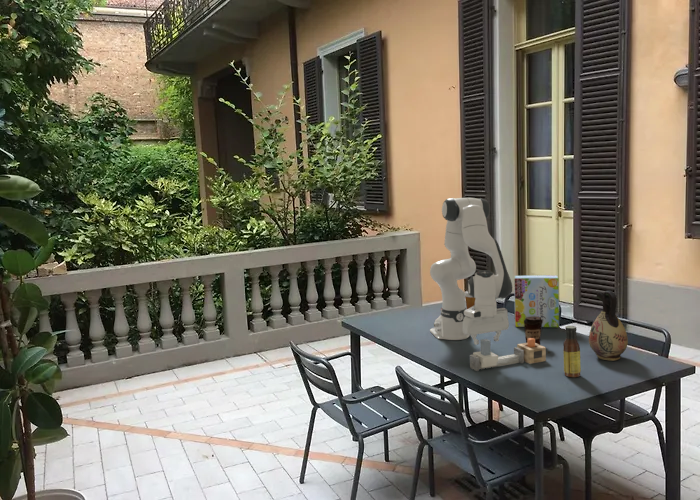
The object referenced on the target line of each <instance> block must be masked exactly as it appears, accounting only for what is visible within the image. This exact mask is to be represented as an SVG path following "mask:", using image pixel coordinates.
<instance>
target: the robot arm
mask: <svg viewBox="0 0 700 500" xmlns="http://www.w3.org/2000/svg"><path fill="white" fill-rule="evenodd" d="M490 212H491V205H490V203H489V201H488V200H487V199H485V198H481V197H480V198H475V197H457V198H455V197H451V198H446V199H445V200H444V201H443V203H442V207H441V214H442V217H443V218H444V220H446V225H445V235H444V244H443V245H444V247H445V248H446V250H448V251H449V253H450V257H449V258H445V259H441V260H438V261H436V262H433V263H432V264H431V266H430V269H429V274H430V275H429V276H430V277H431V279H432V280H433V281H434V282H435V283H436V284H437V285H438V287H439V288H440V291H441V299H442V302H441V304H442V307H441V308H440V315H439V316H438V317H437V318H435V320H434V323H433V327H432V328H430V329H429V332H430V333H431V334H432V335H433V336H434V337H435V338H436V339H437V340H449V341H460V340H466V339H468V338H469V337H471V338H472V340H473V344H474V345H475V346H476V345H480V340H479V339H477V335H481V334H487V333H494V332H495V335H493V341H494V342H499V341H500V336H501V334H502V331H506V330H508V329H509V328H510V323H509V317H508V316H509V315H508V309H507V308H505V307H500V308H497V300H496V298H497V299H506V298H508V297H509V296H510V295H511V294H512V292H513V281H512V279H511V277H510V275H509V273H508V272H509V271H508V270H507V266H506V263H505V260H504V257H503V254H502V251H501V248H500V244H499V243H498V241H497V239H495V238H494V237H492V236H491V234H490V231H489V227H488V221H487V219H488V218H489V217H490V214H491V213H490ZM469 248H470V249H472V250H473V251H478V252H481V253H484V254H486V255H488V256H489V257H491V259H492V262H493V267H494V269H495V272H496V273H494V272H493V271H491V270H488V269H487V270H486V269H485V270H484V269H483V270H481V269H480V270H478V271H476V270H477V265H476V262H475V261H474V259H473V258H472V257H471V256H470V255H471V254H470V253H469ZM473 275H474V276H473ZM469 277H470V278H469ZM468 278H469V279H468ZM464 279H468V281H467V291H468V294H469V295H470V296H472V297H473V298H475V305H474V306H472V307H470V308H469V309H467V307H466V299H465V291H464V290H463V289H462V288H460V287H459V285H458V281H460V280H464Z"/></svg>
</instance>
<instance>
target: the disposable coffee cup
mask: <svg viewBox="0 0 700 500" xmlns="http://www.w3.org/2000/svg"><path fill="white" fill-rule="evenodd" d="M464 293H465V307H466V310H467V309H469V308H470V307H472V306H474V305H475V298H473V297H472V296H470V295H469V294H468V290H466V291H464Z"/></svg>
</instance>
